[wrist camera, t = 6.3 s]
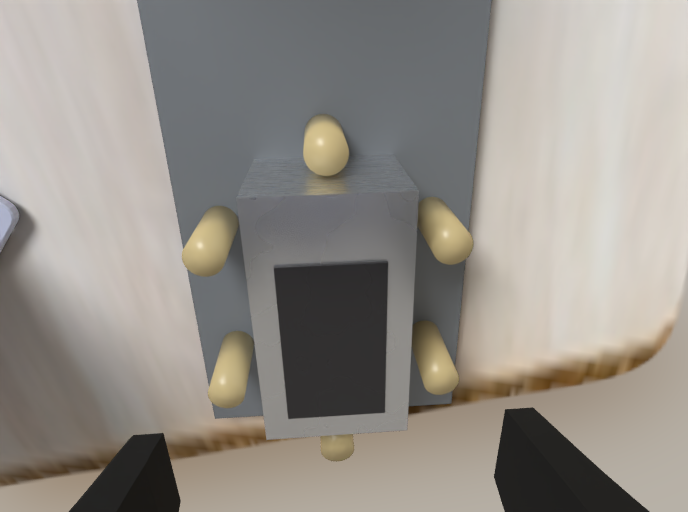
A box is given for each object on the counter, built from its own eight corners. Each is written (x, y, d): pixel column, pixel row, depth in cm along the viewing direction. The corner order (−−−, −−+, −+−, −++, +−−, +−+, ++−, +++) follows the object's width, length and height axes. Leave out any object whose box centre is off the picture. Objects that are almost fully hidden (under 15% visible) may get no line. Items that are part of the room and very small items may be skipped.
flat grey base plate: (446, 390, 21) (471, 456, 17) (218, 404, 20) (200, 475, 17) (506, -263, 12) (582, -379, 8) (98, -267, 11) (10, -391, 8)
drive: (388, 353, 19) (408, 432, 15) (275, 360, 18) (266, 441, 15) (393, 154, 15) (419, 192, 11) (254, 159, 15) (235, 199, 11)
